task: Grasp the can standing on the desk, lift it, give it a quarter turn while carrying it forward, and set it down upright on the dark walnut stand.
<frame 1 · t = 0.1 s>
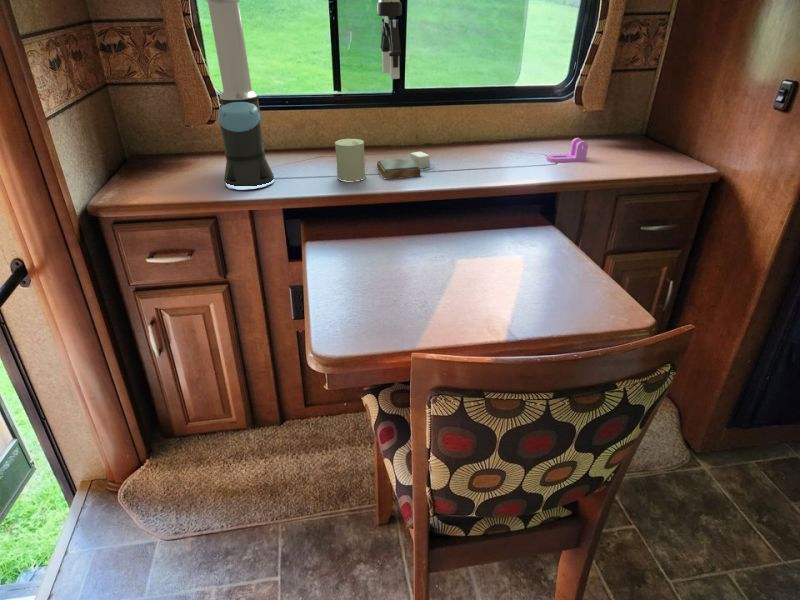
hand: (390, 75, 170), 28 cm above the table, fingers open, 13 cm apart
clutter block: (419, 165, 179), on the table
stand: (398, 172, 172), on the table
can: (351, 178, 168), on the table
bracket: (564, 160, 183), on the table
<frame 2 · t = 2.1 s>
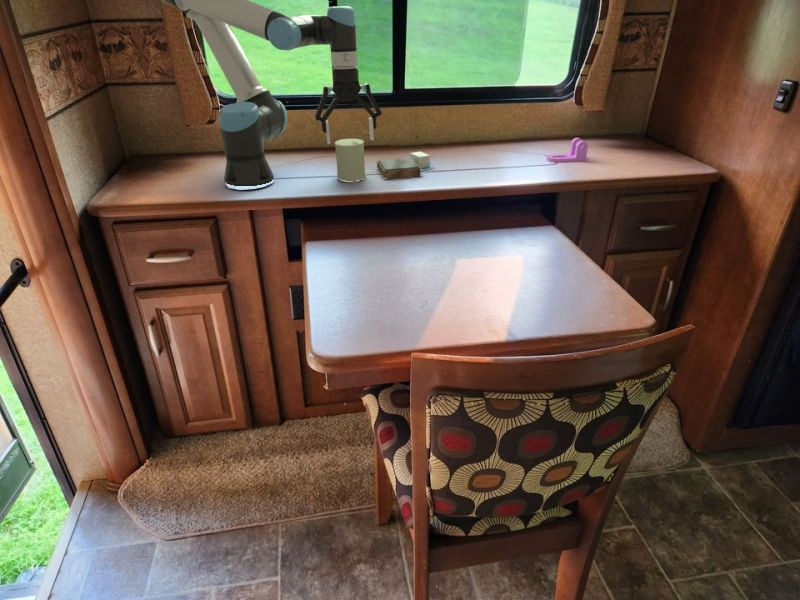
hand: (350, 141, 162), 12 cm above the table, fingers open, 13 cm apart
nothing on the table moved.
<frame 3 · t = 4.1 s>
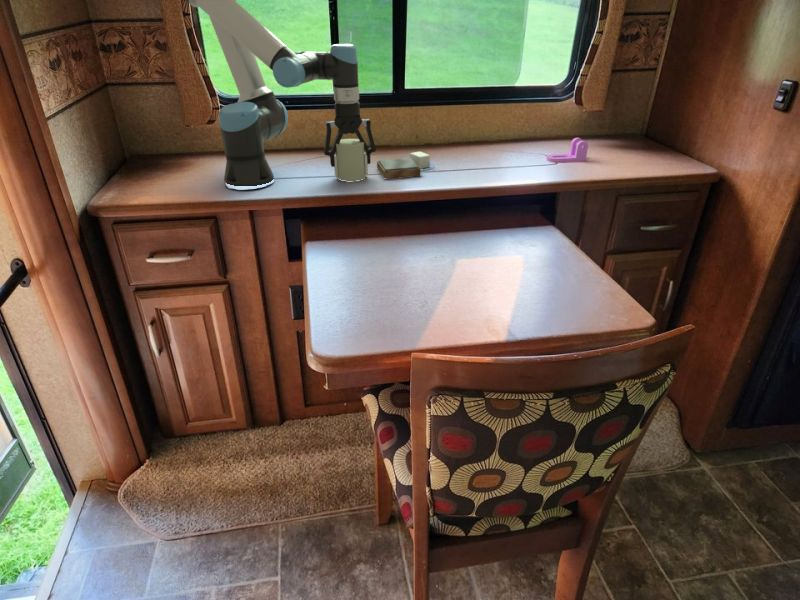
hand: (351, 175, 167), 1 cm above the table, fingers closed on can, 9 cm apart
can: (351, 178, 168), on the table, touching gripper
everything else where it was.
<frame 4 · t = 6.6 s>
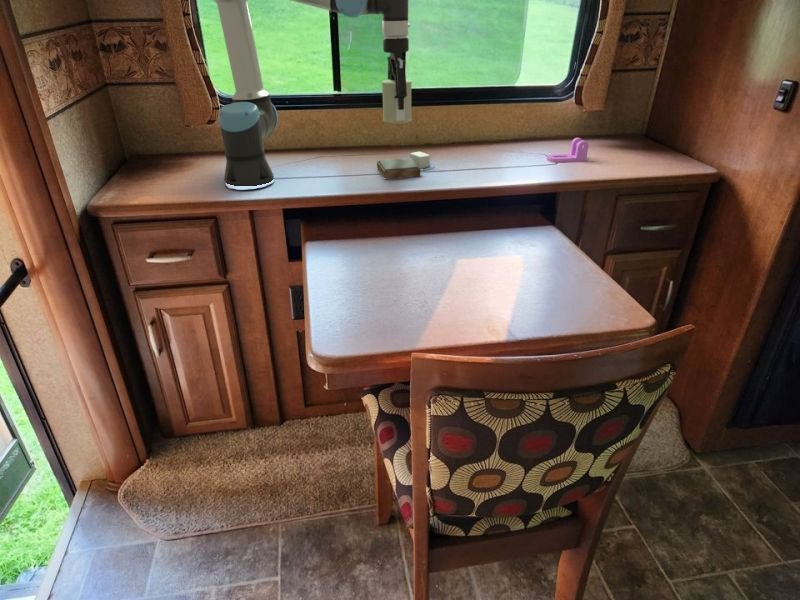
hand: (397, 117, 163), 18 cm above the table, fingers closed on can, 9 cm apart
can: (397, 120, 164), point 17 cm above the table, touching gripper
everything else where it was.
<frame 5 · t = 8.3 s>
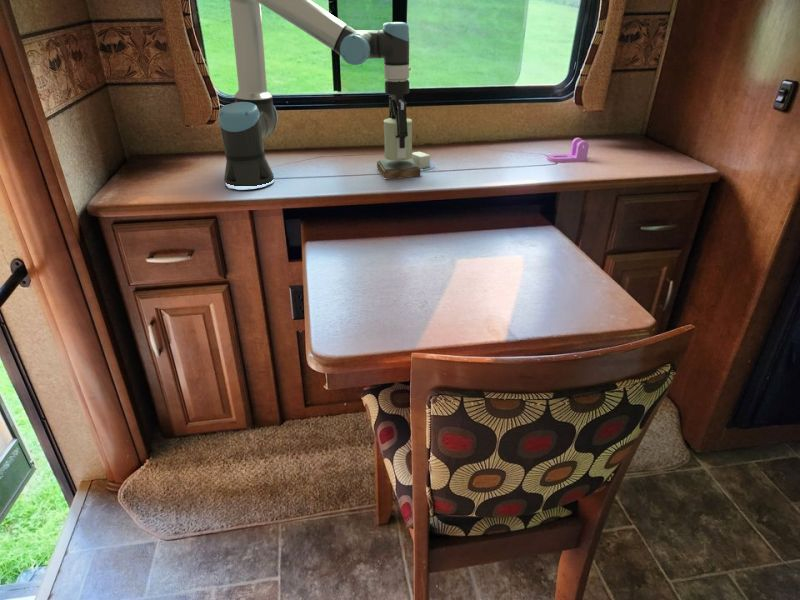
hand: (398, 153, 169), 6 cm above the table, fingers closed on can, 9 cm apart
can: (398, 157, 170), point 5 cm above the table, touching gripper
everything else where it was.
when the fingers open (5 cm above the table, at t = 9.3 s): can drops 1 cm, resting on stand.
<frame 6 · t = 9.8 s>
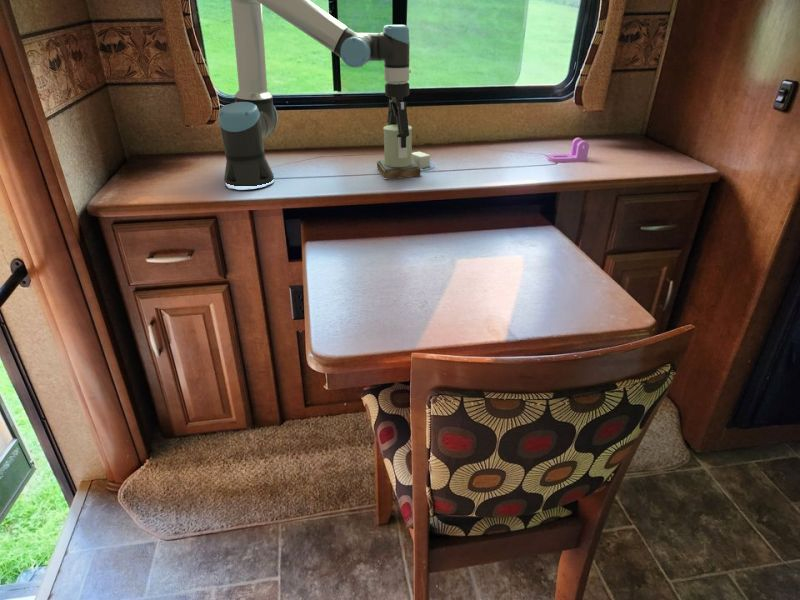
hand: (398, 152, 169), 7 cm above the table, fingers open, 13 cm apart
can: (398, 163, 171), point 3 cm above the table, touching stand
everything else where it was.
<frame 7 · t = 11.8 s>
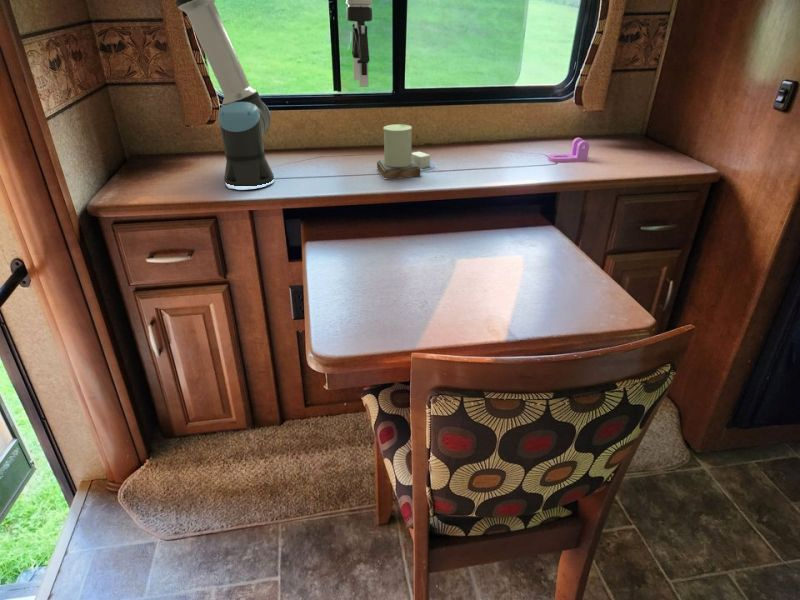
hand: (360, 83, 163), 27 cm above the table, fingers open, 13 cm apart
nothing on the table moved.
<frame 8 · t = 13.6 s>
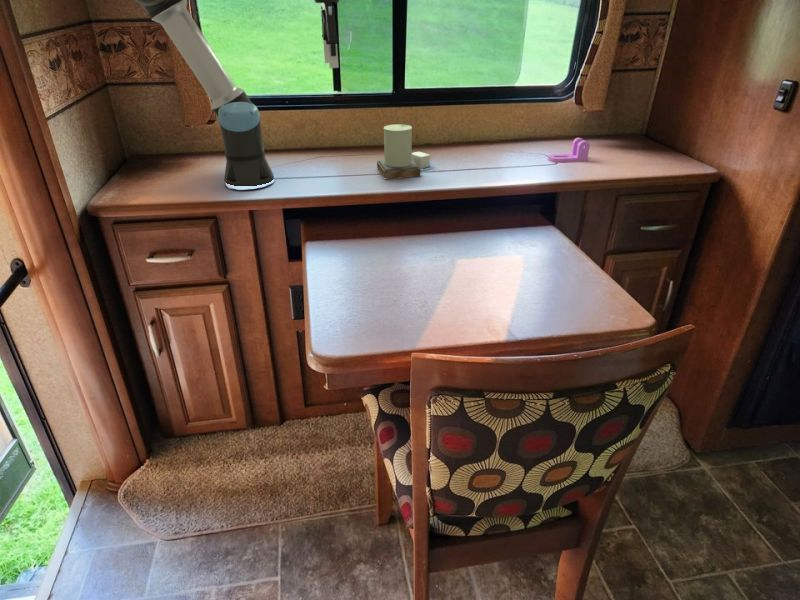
hand: (331, 65, 165), 32 cm above the table, fingers open, 13 cm apart
nothing on the table moved.
at the end: can inside the target area on the stand (0.0 cm from its centre), point 2.8 cm above the stand's base; can tilted 0°; the gripper is holding nothing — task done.
